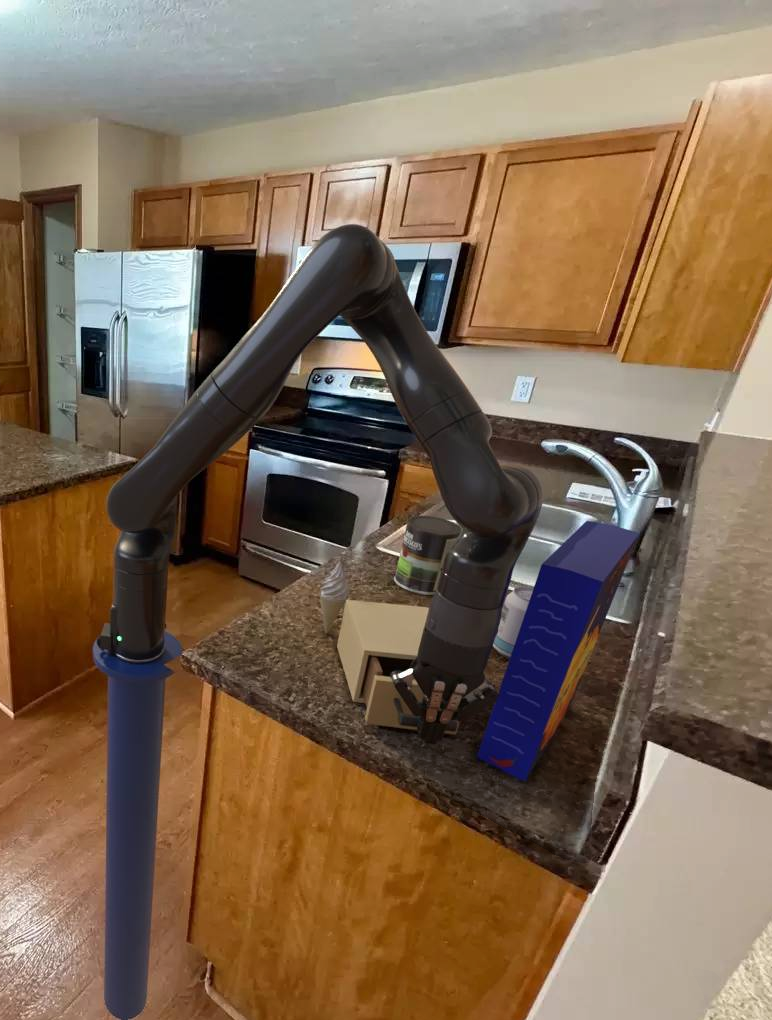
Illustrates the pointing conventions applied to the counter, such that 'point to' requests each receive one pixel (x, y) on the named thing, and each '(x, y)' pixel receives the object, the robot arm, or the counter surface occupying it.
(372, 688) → the drawer
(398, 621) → the cabinet
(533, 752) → the cereal box
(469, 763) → the counter surface
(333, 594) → the ice cream cone
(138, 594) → the robot arm
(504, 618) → the beverage can
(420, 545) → the coffee can
